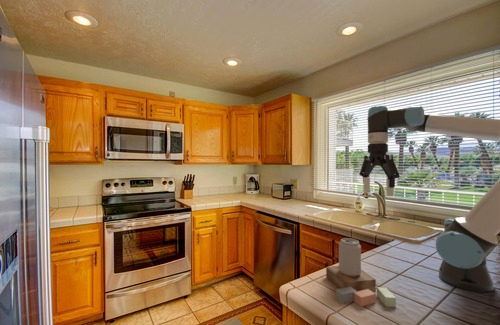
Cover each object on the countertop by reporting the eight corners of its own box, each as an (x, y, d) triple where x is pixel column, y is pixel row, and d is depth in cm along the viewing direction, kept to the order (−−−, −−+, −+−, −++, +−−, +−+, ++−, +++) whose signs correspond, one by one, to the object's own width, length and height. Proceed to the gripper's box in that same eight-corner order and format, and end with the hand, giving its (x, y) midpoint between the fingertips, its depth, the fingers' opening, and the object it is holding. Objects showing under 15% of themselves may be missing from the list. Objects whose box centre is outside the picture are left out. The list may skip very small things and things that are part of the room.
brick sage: (376, 296, 78) (376, 287, 78) (386, 296, 78) (386, 287, 78) (385, 307, 72) (385, 297, 72) (395, 307, 72) (395, 297, 72)
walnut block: (354, 274, 93) (354, 264, 93) (375, 291, 81) (375, 279, 81) (326, 277, 90) (326, 267, 90) (344, 294, 79) (344, 282, 79)
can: (354, 268, 89) (355, 237, 89) (365, 277, 82) (365, 243, 82) (335, 268, 89) (335, 237, 89) (344, 278, 82) (344, 243, 82)
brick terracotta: (367, 298, 77) (367, 289, 77) (375, 303, 74) (375, 293, 74) (353, 301, 75) (353, 292, 75) (361, 307, 72) (361, 297, 72)
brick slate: (350, 295, 78) (350, 286, 78) (357, 300, 75) (357, 291, 75) (335, 298, 76) (335, 289, 76) (342, 303, 73) (342, 294, 73)
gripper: (351, 145, 110) (351, 190, 110) (393, 140, 85) (393, 198, 85) (365, 146, 111) (365, 190, 111) (410, 140, 87) (410, 197, 87)
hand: (377, 193), depth 98 cm, fingers open, 13 cm apart
